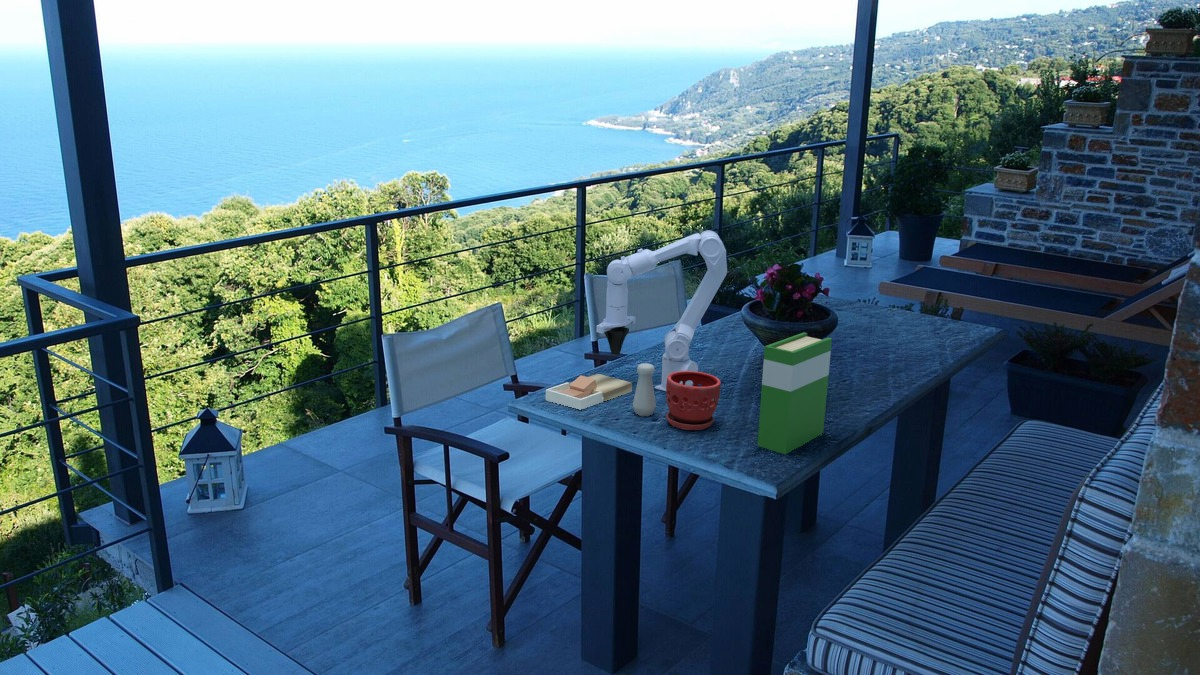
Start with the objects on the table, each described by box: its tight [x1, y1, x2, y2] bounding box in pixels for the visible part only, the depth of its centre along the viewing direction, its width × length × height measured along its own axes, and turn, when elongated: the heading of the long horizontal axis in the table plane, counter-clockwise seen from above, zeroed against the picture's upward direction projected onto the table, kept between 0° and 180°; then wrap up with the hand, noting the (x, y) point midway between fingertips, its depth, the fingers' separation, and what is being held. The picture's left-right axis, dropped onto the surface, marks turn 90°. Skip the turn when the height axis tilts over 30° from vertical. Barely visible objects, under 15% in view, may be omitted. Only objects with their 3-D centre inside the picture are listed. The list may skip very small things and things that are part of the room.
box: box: [545, 382, 604, 410], centre depth 244 cm, size 12×9×3 cm
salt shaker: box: [632, 362, 657, 417], centre depth 235 cm, size 6×6×13 cm
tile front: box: [559, 388, 585, 399], centre depth 243 cm, size 5×5×2 cm
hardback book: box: [757, 332, 833, 455], centre depth 219 cm, size 18×7×24 cm, turn 139°
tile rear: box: [569, 375, 597, 397], centre depth 246 cm, size 5×5×2 cm
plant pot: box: [665, 371, 722, 431], centre depth 229 cm, size 13×13×12 cm
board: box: [568, 373, 633, 402], centre depth 252 cm, size 12×12×2 cm
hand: (615, 353), depth 255 cm, fingers closed
